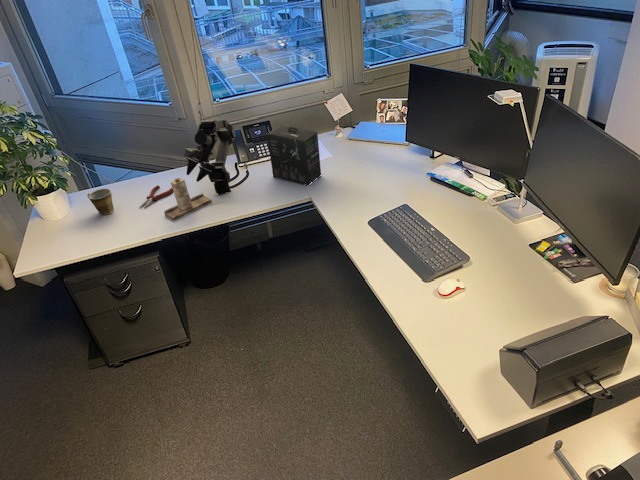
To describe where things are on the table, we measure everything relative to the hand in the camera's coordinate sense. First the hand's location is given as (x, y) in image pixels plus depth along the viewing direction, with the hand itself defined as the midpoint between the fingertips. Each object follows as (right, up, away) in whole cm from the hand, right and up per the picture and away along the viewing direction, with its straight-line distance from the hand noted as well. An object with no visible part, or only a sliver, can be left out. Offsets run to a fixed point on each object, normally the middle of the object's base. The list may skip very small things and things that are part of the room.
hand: (192, 178), depth 214 cm
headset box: (+48, +3, +21) cm, 52 cm away
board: (-3, -14, +5) cm, 15 cm away
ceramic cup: (-45, -15, +10) cm, 49 cm away
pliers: (-24, -8, +18) cm, 31 cm away
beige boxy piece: (-4, -13, +3) cm, 14 cm away
